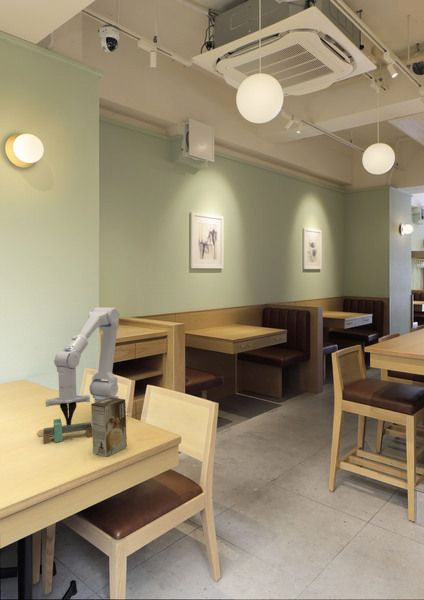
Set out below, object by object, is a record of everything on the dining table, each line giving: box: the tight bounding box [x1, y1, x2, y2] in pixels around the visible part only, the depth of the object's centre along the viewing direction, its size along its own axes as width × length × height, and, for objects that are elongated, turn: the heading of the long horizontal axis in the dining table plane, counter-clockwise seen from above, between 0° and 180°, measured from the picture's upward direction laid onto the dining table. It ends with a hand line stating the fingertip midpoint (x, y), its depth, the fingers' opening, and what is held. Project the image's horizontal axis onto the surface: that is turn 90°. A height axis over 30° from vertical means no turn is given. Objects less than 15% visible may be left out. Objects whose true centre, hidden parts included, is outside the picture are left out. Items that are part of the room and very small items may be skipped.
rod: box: [42, 421, 93, 445], centre depth 150 cm, size 16×5×4 cm, turn 113°
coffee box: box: [91, 397, 128, 458], centre depth 138 cm, size 9×6×16 cm
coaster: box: [36, 428, 54, 438], centre depth 155 cm, size 9×9×1 cm
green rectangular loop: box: [53, 418, 63, 443], centre depth 149 cm, size 2×6×6 cm, turn 23°
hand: (68, 424), depth 150 cm, fingers closed
